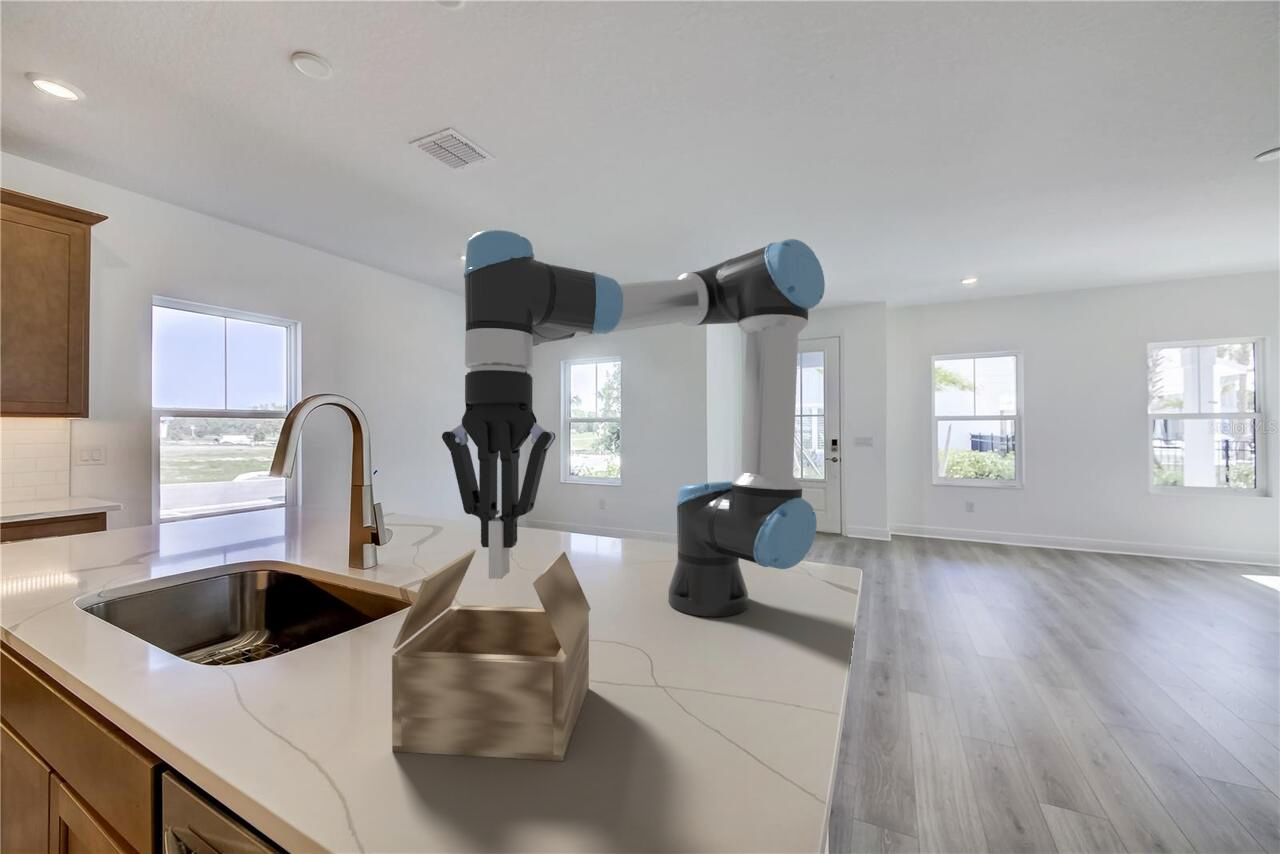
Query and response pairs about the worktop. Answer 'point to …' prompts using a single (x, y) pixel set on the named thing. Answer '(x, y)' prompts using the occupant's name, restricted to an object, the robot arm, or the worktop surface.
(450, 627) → the carton
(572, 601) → the flap
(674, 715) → the worktop surface
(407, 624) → the flap
